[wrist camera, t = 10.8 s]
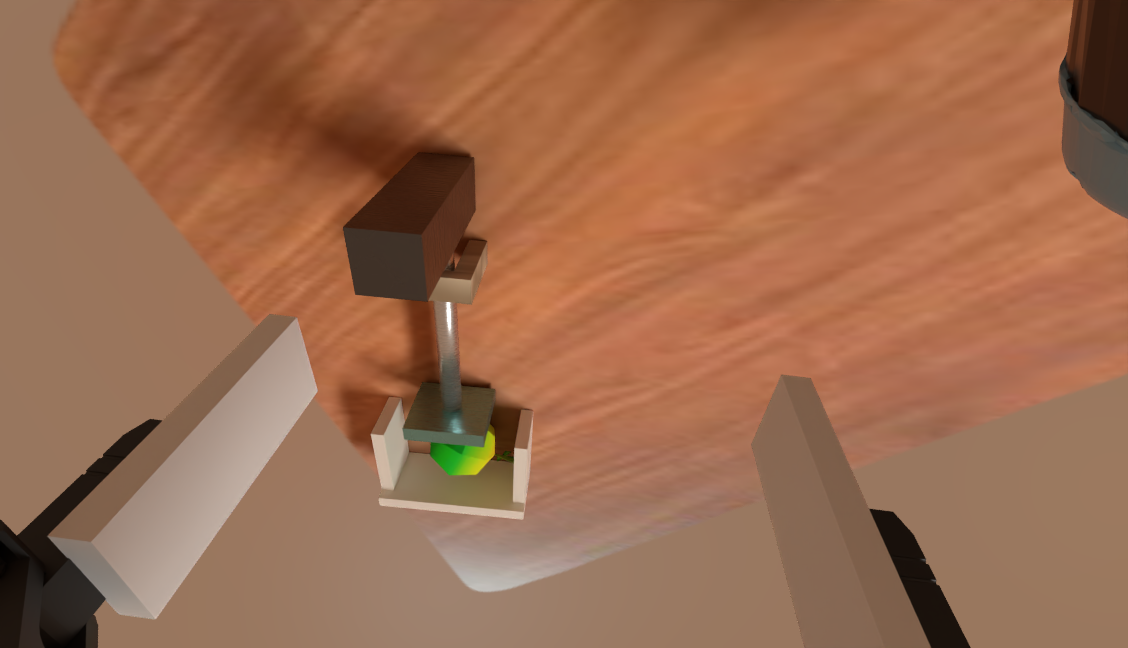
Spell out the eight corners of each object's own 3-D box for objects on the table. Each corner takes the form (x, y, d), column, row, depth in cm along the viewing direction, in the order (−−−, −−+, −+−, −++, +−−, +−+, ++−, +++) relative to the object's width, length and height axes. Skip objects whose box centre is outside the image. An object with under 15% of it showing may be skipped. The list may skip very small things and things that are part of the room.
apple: (415, 468, 45) (508, 502, 47) (444, 402, 46) (534, 437, 48) (418, 453, 52) (499, 482, 54) (444, 395, 53) (523, 426, 55)
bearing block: (416, 234, 40) (390, 272, 35) (487, 241, 40) (470, 280, 35) (419, 257, 42) (393, 297, 37) (487, 263, 42) (471, 304, 36)
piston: (397, 150, 36) (313, 224, 26) (495, 159, 36) (451, 237, 26) (424, 391, 50) (375, 506, 39) (495, 398, 50) (466, 515, 39)
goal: (389, 396, 51) (366, 442, 46) (533, 410, 51) (526, 457, 46) (399, 458, 56) (380, 505, 51) (530, 471, 56) (523, 519, 51)
